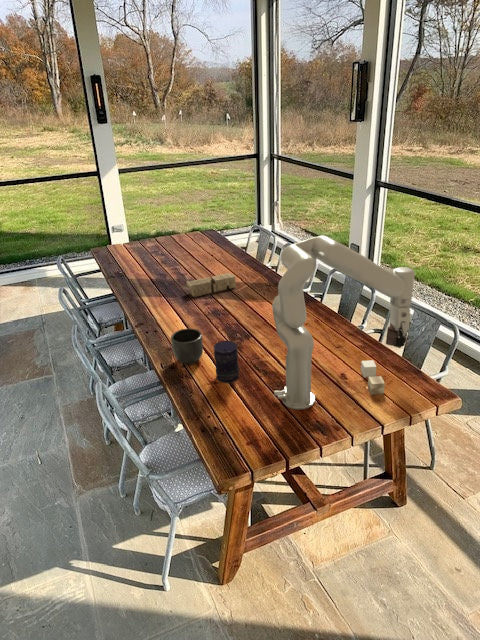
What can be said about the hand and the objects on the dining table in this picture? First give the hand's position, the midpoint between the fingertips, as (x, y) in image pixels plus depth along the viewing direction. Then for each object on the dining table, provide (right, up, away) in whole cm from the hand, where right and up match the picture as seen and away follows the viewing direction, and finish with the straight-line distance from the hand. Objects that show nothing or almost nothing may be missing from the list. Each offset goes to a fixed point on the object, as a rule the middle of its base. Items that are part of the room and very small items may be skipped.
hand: (396, 340), depth 182 cm
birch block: (-8, -20, +1) cm, 22 cm away
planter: (-85, -11, +30) cm, 90 cm away
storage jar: (-67, -17, +16) cm, 71 cm away
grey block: (-8, -15, +12) cm, 20 cm away
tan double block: (-79, +26, +103) cm, 132 cm away
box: (0, -1, +1) cm, 2 cm away
